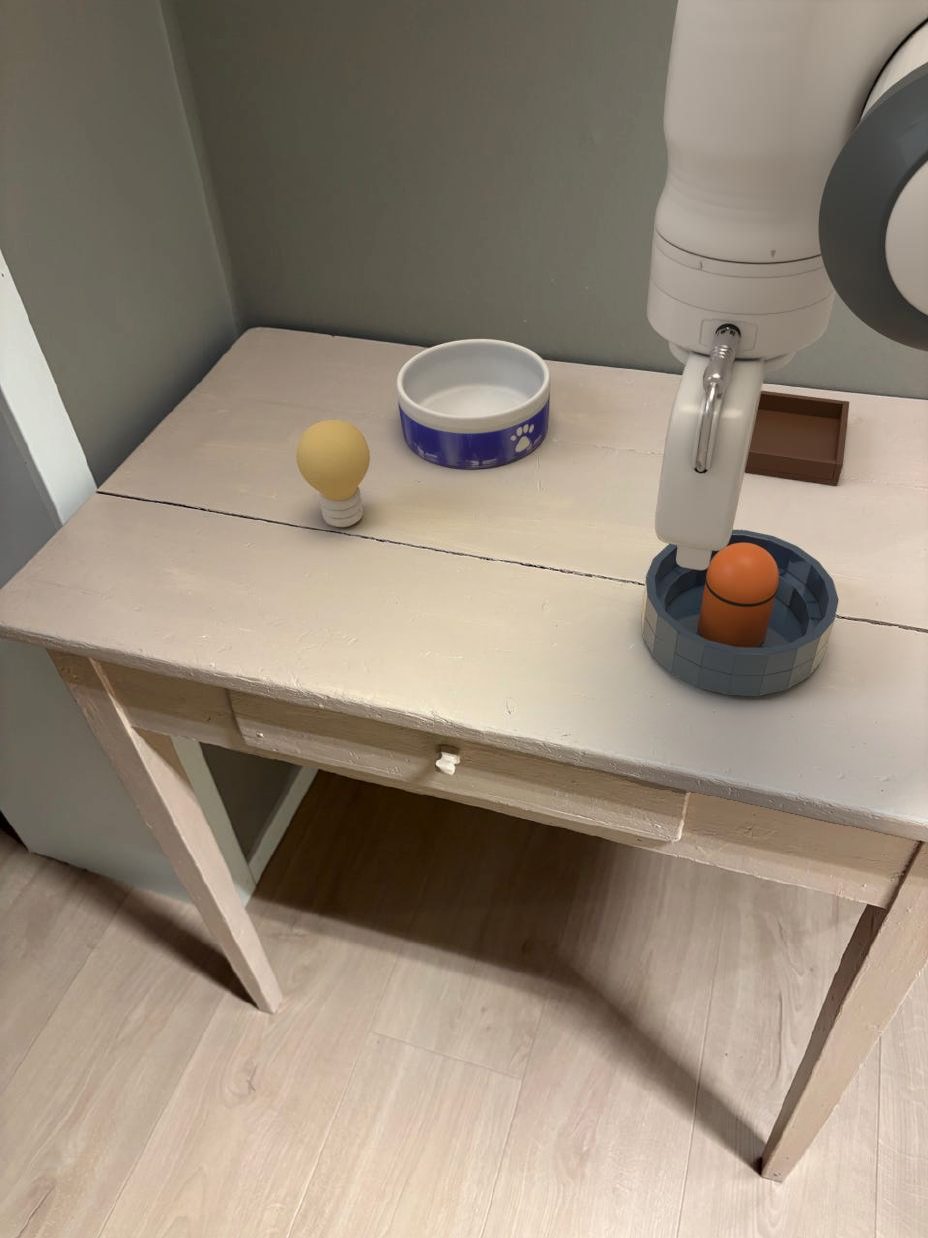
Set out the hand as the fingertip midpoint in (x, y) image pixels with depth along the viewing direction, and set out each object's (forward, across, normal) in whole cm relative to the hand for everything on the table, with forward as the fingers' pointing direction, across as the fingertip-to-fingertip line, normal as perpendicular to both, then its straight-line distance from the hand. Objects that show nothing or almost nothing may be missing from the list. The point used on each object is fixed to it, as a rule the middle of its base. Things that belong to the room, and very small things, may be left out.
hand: (705, 510), depth 56 cm
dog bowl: (+19, +34, +26) cm, 47 cm away
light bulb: (+19, +16, +33) cm, 41 cm away
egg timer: (+19, +10, -3) cm, 21 cm away
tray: (+19, +38, -4) cm, 43 cm away
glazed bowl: (+19, +10, -3) cm, 22 cm away
